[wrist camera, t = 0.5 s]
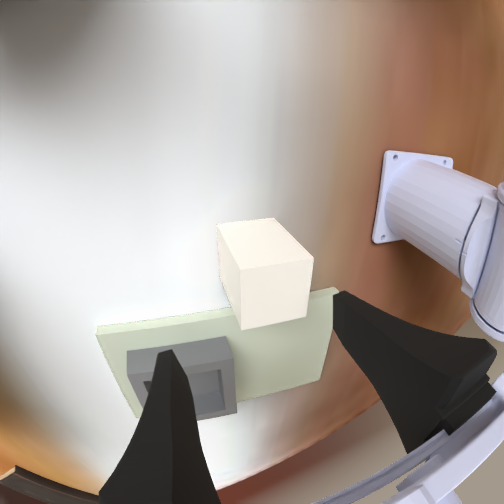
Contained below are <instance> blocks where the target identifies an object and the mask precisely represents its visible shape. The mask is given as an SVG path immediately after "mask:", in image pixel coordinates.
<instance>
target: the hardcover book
mask: <svg viewBox="0 0 504 504" xmlns="http://www.w3.org/2000/svg"><path fill="white" fill-rule="evenodd" d="M0 484H2V485H4V486H6V487H8V488H11V489H13V490H16V491H18V492H20V493H22V494H25V495H27V496H30V497H32V498H35V499H37V500H40V501H43V502H46V503H49V504H99V496H98V495H94V494H91V493H87V492H84V491H81V490H77V489H74V488H71V487H68V486H65V485H62V484H60V483H57V482H54V481H52V480H49V479H46V478H44V477H41V476H39V475H37V474H34V473H32V472H30V471H27V470H25V469H23V468H21V467H19V466H17V465H15V467H14V468H12V469H11V470H9V471H8V472H6V473H5V474H3V475H1V476H0Z"/></svg>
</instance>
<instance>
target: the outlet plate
mask: <svg viewBox="0 0 504 504" xmlns="http://www.w3.org/2000/svg"><path fill="white" fill-rule="evenodd" d="M337 293H339V291H338V290H337V289H336V288H335V287H330V288H326V289H321V290H316V291H312V292H309V300H308V307H307V314H306V317H302V318H297V319H293V320H289V321H284V322H280V323H275V324H270V325H266V326H261V327H256V328H251V329H246V330H241V328H240V326H239V323H238V321H237V318H236V316H235V314H234V311H233V309H232V307H228V308H222V309H217V310H211V311H204V312H198V313H192V314H186V315H179V316H172V317H166V318H159V319H152V320H144V321H137V322H129V323H121V324H113V325H105V326H97V329H96V337H97V339H98V342H99V344H100V347H101V349H102V351H103V353H104V356H105V358H106V360H107V362H108V364H109V366H110V369H111V371H112V373H113V375H114V377H115V379H116V381H117V383H118V385H119V387H120V389H121V391H122V393H123V395H124V397H125V398H126V400H127V402H128V404H129V406H130V408H131V409H132V411H133V413H134V415H135V417H136V418H140V417H141V414H142V411H143V408H144V405H145V402H146V399H147V396H148V392H149V388H150V385H151V381H152V377H153V372H154V368H155V363H156V358H157V354H158V353H159V352H163V351H166V350H170V349H172V350H173V352H174V353H175V355H176V357H177V359H178V361H179V363H180V364H181V366H182V368H183V370H184V372H185V373H186V375H187V377H188V380H189V384H190V388H191V391H192V395H193V400H194V406H195V413H196V419H197V421H198V420H204V419H210V418H215V417H220V416H225V415H230V414H234V413H237V405H236V402H240V401H244V400H249V399H253V398H257V397H261V396H265V395H269V394H273V393H276V392H280V391H284V390H287V389H291V388H294V387H298V386H301V385H304V384H308V383H311V382H314V381H317V380H319V379H320V376H321V372H322V368H323V365H324V361H325V357H326V353H327V349H328V345H329V341H330V336H331V332H332V328H333V295H334V294H337Z"/></svg>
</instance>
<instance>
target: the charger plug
mask: <svg viewBox="0 0 504 504" xmlns="http://www.w3.org/2000/svg"><path fill="white" fill-rule="evenodd" d="M216 226H217V246H218V265H219V277H220V279H221V282H222V284H223V287H224V289H225V292H226V294H227V296H228V299H229V301H230V304H231V306H232V309H233V311H234V314H235V316H236V318H237V321H238V323H239V326H240V328H241V330H246V329H251V328H256V327H261V326H266V325H270V324H275V323H280V322H284V321H289V320H293V319H297V318H302V317H306V314H307V307H308V300H309V292H310V285H311V277H312V269H313V261H314V258H313V257H312V256H311V255H310V254H309V253H308V252H307V251H306V250H305V249H304V248H303V247H302V246H301V245H300V244H299V243H298V242H297V241H296V240H295V239H294V238H293V237H292V236H291V235H290V234H289V233H288V232H287V231H286V230H285V229H284V228H283V227H282V226H281V225H280V224H279V223H278V222H277V221H276V220H275V219H274V218H266V219H256V220H247V221H238V222H230V223H221V224H216Z"/></svg>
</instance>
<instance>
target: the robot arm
mask: <svg viewBox="0 0 504 504" xmlns="http://www.w3.org/2000/svg"><path fill="white" fill-rule="evenodd" d="M394 155H395V157H394ZM393 157H394V159H393ZM452 166H453V160H452V158H449V157H444V156H436V155H429V154H420V153H412V152H402V151H391V150H388V151H386V152H385V154H384V159H383V168H382V176H381V184H380V191H379V198H378V205H377V211H376V218H375V223H374V229H373V235H372V241H373V242H375V243H377V244H378V243H384V242H390V241H396V240H402V239H404V240H406V241H407V242H409V243H410V244H412V245H413V246H415V247H416V248H418V249H419V250H421V251H422V252H424V253H425V254H426V255H428V256H429V257H431V258H432V259H434V260H435V261H436V262H438V263H439V264H441V265H442V266H443V267H445V268H446V269H447V270H449V271H450V272H452V273H453V274H454V275H456V276H457V277H458V278H460V279H461V280H462V288H461V291H462V292H464V293H465V294H466V295H467V296H469V297H470V302H469V307H470V312H471V315H472V317H473V319H474V321H475V322H476V323H477V325H478V326H479V327H480V328H481V329H482V330H483V331H484V332H485V333H486V334H487V335H489V336H490V337H492V338H494V339H496V340H498V341H501V342H504V182H502V183H500V184H499V186H498V189H497V188H496V187H494V186H492V185H490V184H488V183H485V182H483V181H481V180H478V179H476V178H474V177H471V176H469V175H466V174H464V173H461V172H459V171H456V170H454V169H452ZM333 329H334V331H335V332H336V334H337V336H338V338H339V339H340V341H341V343H342V345H343V346H344V347H345V349H346V350H347V351H348V353H349V354H350V355H351V357H352V358H353V359H354V360H355V362H356V363H357V364H358V366H359V367H360V368H361V370H362V371H363V372H364V373H365V375H366V376H367V377H368V379H369V380H370V382H371V383H372V384H373V386H374V388H375V389H376V391H377V393H378V395H379V396H380V398H381V400H382V401H383V403H384V405H385V407H386V409H387V411H388V413H389V415H390V416H391V419H392V421H393V423H394V425H395V427H396V429H397V431H398V433H399V436H400V438H401V440H402V443H403V445H404V448H405V450H406V452H407V455H406V456H404V457H403V458H401V459H400V460H398V461H396V462H395V463H393V464H391V465H390V466H388V467H386V468H384V469H383V470H381V471H379V472H377V473H375V474H374V475H372V476H370V477H368V478H366V479H364V480H362V481H360V482H358V483H357V484H354V485H352V486H350V487H348V488H346V489H344V490H342V491H340V492H338V493H335V494H333V495H331V496H328V497H326V498H324V499H321V500H319V501H316V502H314V503H311V504H351V503H353V502H355V501H357V500H359V499H361V498H363V497H365V496H367V495H369V494H371V493H372V492H374V491H376V490H378V489H380V488H382V487H383V486H385V485H387V484H389V483H390V482H392V481H394V480H395V479H397V478H399V477H400V476H402V475H404V474H405V473H407V472H408V471H410V470H411V469H413V468H414V467H416V466H417V465H419V464H420V463H422V462H423V461H425V460H426V461H425V463H424V464H423V465H422V466H420V467H419V468H418V469H416V470H415V471H414V472H412V473H411V474H409V475H408V476H407V478H406V479H404V480H403V481H402V482H401V483H400V484H398V485H397V486H396V488H397V490H398V491H399V493H397V494H396V495H394V496H392V497H391V498H389V499H387V500H385V501H384V502H382V503H380V504H463V503H462V502H461V500H460V499H459V497H458V496H457V494H456V493H455V491H454V490H453V489H454V488H455V487H457V486H458V485H459V484H460V483H461V482H462V481H463V480H465V479H466V478H467V477H468V476H469V475H470V474H471V473H472V472H473V471H474V470H475V469H476V468H477V467H478V466H479V465H480V464H481V463H482V462H483V461H484V460H485V459H486V458H487V457H488V456H489V455H490V454H491V453H492V452H493V451H494V450H495V449H496V448H497V447H498V445H499V444H500V443H501V442H502V441H503V440H504V372H503V373H502V374H501V375H500V376H499V377H498V378H497V379H496V380H495V381H494V383H493V384H492V385H490V384H489V383H488V381H489V379H490V378H489V377H488V376H487V374H486V373H487V371H488V370H489V368H490V366H491V365H492V363H493V361H494V359H495V358H496V355H497V350H496V349H495V348H494V347H493V346H492V345H491V344H490V343H489V342H488V341H487V340H485V339H478V338H466V337H458V336H453V335H448V334H443V333H439V332H435V331H432V330H428V329H425V328H422V327H419V326H416V325H413V324H411V323H408V322H406V321H403V320H401V319H399V318H396V317H394V316H392V315H390V314H388V313H386V312H384V311H382V310H380V309H378V308H376V307H374V306H372V305H370V304H369V303H367V302H365V301H363V300H361V299H359V298H358V297H356V296H354V295H352V294H350V293H348V292H347V291H345V290H344V291H342V292H339V293H337V294H334V295H333ZM99 504H221V502H220V500H219V497H218V495H217V492H216V489H215V487H214V484H213V481H212V479H211V476H210V473H209V470H208V467H207V464H206V461H205V457H204V454H203V451H202V447H201V442H200V437H199V431H198V425H197V419H196V413H195V406H194V400H193V395H192V391H191V388H190V384H189V380H188V377H187V375H186V373H185V372H184V370H183V368H182V366H181V364H180V363H179V361H178V359H177V357H176V355H175V353H174V352H173V350H172V349H170V350H166V351H163V352H159V353H158V354H157V358H156V363H155V368H154V372H153V377H152V381H151V385H150V388H149V392H148V396H147V399H146V402H145V405H144V408H143V411H142V414H141V417H140V420H139V422H138V425H137V427H136V430H135V432H134V435H133V437H132V439H131V441H130V443H129V445H128V447H127V449H126V451H125V453H124V455H123V457H122V458H121V460H120V462H119V463H118V465H117V467H116V468H115V470H114V472H113V473H112V475H111V476H110V477H109V479H108V480H107V482H106V483H105V484H104V486H103V487H102V488H101V490H100V491H99Z"/></svg>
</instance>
